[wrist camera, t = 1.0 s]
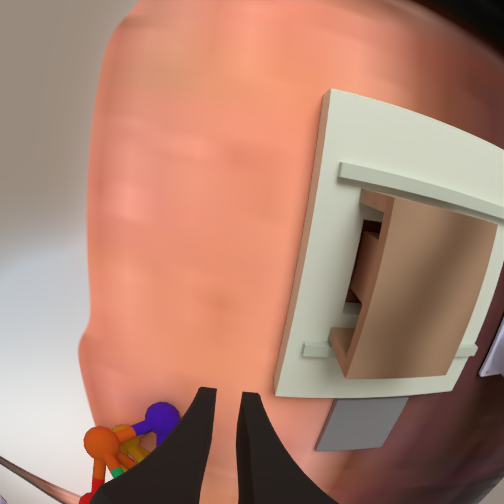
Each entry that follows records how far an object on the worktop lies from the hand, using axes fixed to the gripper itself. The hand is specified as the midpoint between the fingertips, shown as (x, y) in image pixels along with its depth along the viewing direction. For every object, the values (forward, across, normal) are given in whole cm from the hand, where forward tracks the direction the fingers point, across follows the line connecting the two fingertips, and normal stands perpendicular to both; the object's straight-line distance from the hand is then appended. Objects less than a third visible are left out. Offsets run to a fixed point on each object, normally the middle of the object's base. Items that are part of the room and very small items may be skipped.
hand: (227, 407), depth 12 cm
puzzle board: (+9, -12, -4) cm, 15 cm away
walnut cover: (+7, -10, -4) cm, 13 cm away
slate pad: (+9, -12, +11) cm, 19 cm away
